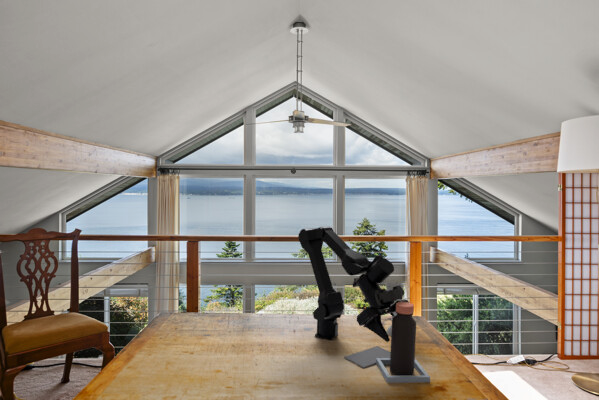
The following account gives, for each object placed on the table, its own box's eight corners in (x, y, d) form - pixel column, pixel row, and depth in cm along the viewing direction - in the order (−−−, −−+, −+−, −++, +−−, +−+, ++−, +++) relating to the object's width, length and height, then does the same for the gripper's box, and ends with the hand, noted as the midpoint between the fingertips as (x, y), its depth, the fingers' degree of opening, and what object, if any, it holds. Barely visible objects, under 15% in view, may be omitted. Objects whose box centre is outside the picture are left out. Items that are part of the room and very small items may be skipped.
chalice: (402, 338, 148) (405, 287, 147) (382, 336, 149) (385, 285, 148) (401, 330, 155) (404, 282, 154) (383, 328, 156) (385, 280, 155)
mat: (344, 357, 130) (344, 356, 130) (377, 347, 139) (377, 345, 139) (363, 368, 124) (363, 367, 124) (397, 356, 133) (397, 355, 133)
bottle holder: (387, 382, 116) (387, 377, 115) (375, 363, 127) (376, 358, 127) (429, 382, 116) (430, 377, 116) (414, 362, 128) (414, 358, 128)
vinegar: (395, 364, 127) (398, 299, 125) (417, 371, 123) (420, 303, 122) (385, 373, 121) (389, 304, 120) (408, 380, 117) (412, 309, 116)
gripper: (365, 281, 120) (394, 331, 112) (407, 273, 132) (436, 318, 123) (345, 301, 127) (371, 350, 119) (386, 292, 138) (412, 336, 130)
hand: (399, 337), depth 123 cm, fingers open, 9 cm apart
